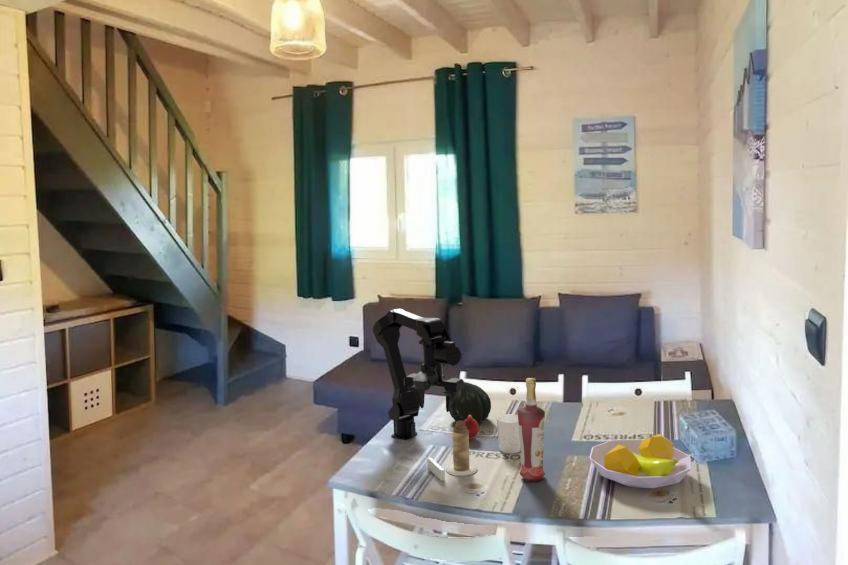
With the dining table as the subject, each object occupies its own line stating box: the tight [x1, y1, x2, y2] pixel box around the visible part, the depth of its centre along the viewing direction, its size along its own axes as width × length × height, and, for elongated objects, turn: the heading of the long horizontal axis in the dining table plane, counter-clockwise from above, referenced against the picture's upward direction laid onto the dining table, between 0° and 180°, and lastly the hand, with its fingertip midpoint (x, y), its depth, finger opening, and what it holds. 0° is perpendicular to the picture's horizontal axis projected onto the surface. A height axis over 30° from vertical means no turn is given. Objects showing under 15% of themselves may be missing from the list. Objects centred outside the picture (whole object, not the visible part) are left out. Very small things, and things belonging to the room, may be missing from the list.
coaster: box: [445, 462, 478, 477], centre depth 187 cm, size 9×9×1 cm
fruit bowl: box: [589, 433, 692, 489], centre depth 176 cm, size 28×27×11 cm
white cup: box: [496, 413, 520, 454], centre depth 200 cm, size 8×8×10 cm
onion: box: [464, 415, 480, 440], centre depth 210 cm, size 6×6×8 cm
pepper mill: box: [452, 420, 470, 471], centre depth 186 cm, size 5×5×14 cm
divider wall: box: [427, 457, 446, 482], centre depth 185 cm, size 10×1×3 cm, turn 22°
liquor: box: [517, 377, 546, 482], centre depth 178 cm, size 7×7×28 cm
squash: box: [448, 381, 492, 425], centre depth 227 cm, size 14×15×15 cm
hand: (434, 409), depth 200 cm, fingers open, 9 cm apart
